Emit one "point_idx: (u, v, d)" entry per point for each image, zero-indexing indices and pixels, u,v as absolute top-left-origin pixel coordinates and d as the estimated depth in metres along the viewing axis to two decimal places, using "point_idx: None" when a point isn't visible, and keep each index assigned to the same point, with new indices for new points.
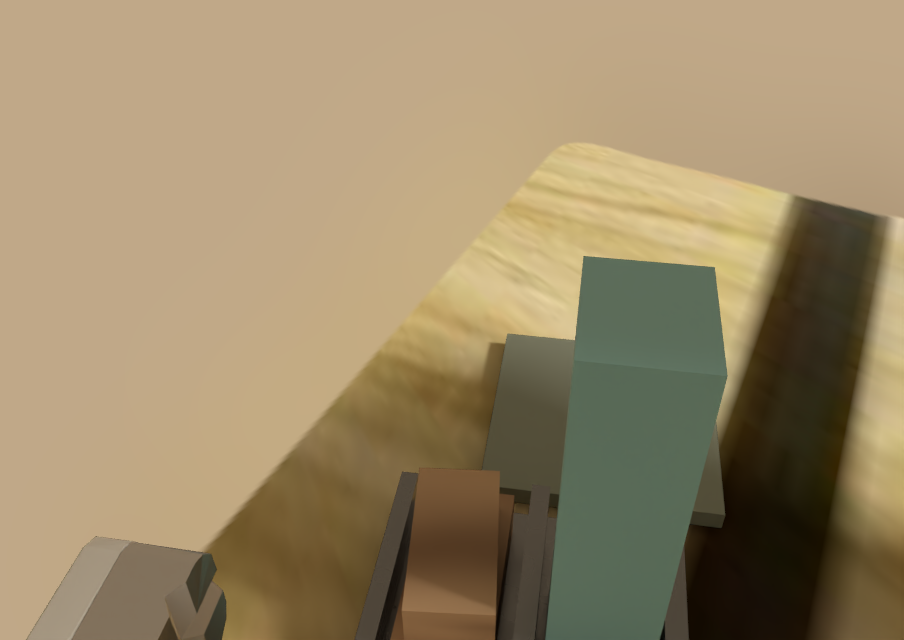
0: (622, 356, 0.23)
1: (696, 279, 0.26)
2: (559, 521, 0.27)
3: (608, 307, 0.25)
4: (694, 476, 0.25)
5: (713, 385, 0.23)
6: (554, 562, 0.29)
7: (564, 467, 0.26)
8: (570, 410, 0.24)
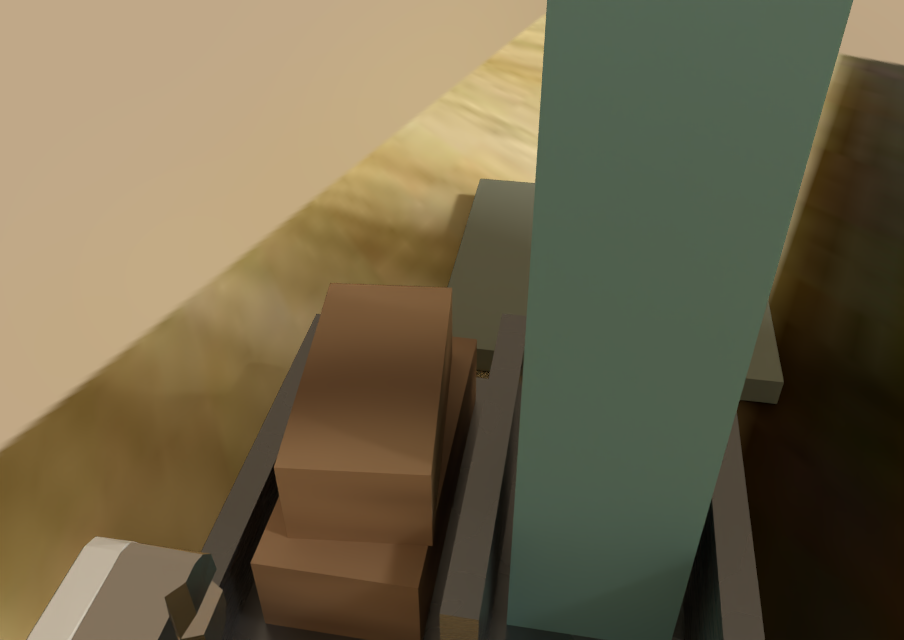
0: None
1: None
2: (533, 257, 0.15)
3: None
4: (805, 117, 0.12)
5: None
6: (526, 354, 0.16)
7: (542, 116, 0.13)
8: None
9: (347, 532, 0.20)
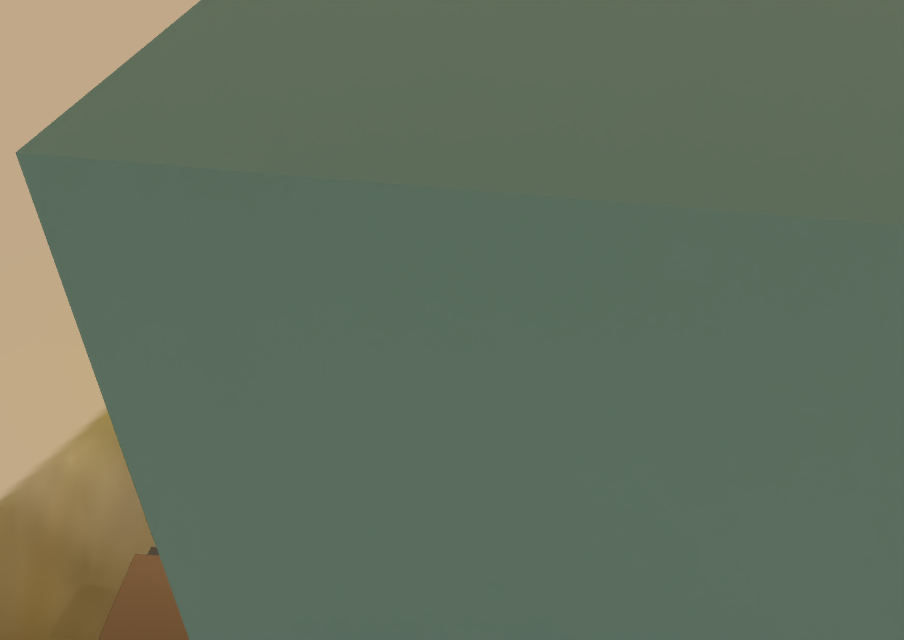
0: (371, 135, 0.03)
1: None
2: None
3: None
4: None
5: None
6: None
7: None
8: (141, 487, 0.04)
9: None
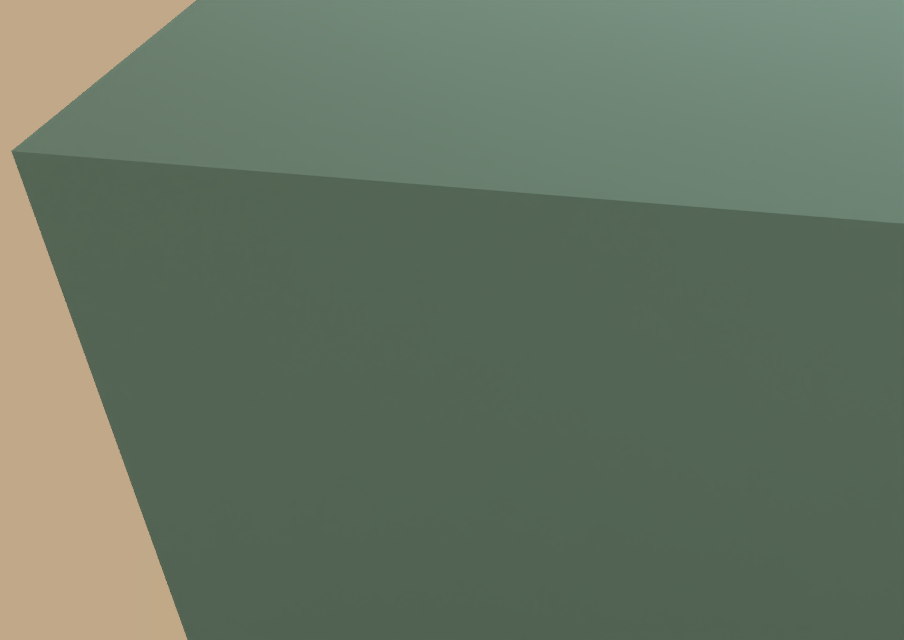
0: (368, 132, 0.03)
1: None
2: None
3: None
4: None
5: None
6: None
7: None
8: (139, 487, 0.04)
9: None
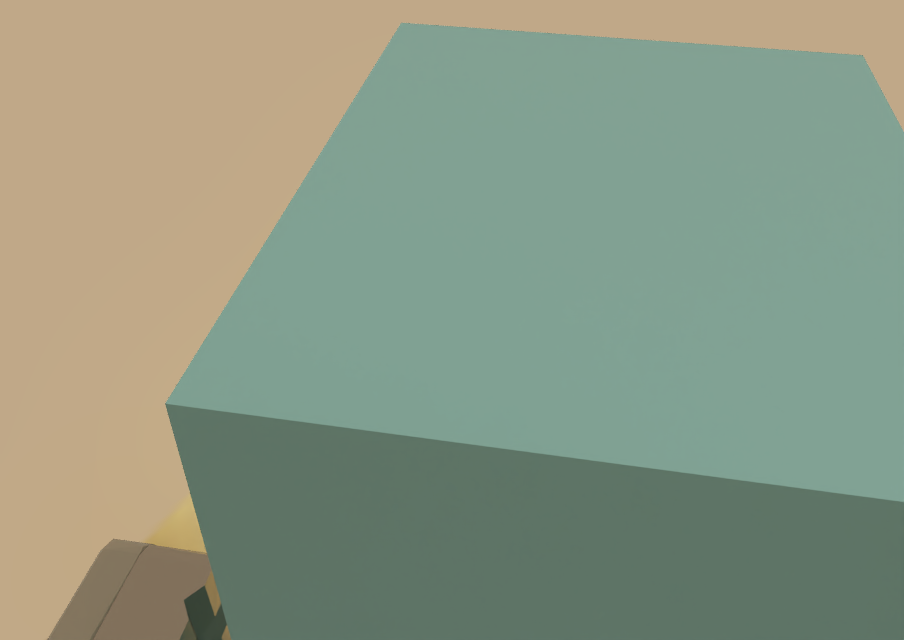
0: (454, 385, 0.04)
1: (806, 84, 0.07)
2: None
3: (443, 161, 0.06)
4: None
5: None
6: None
7: None
8: (235, 632, 0.05)
9: None
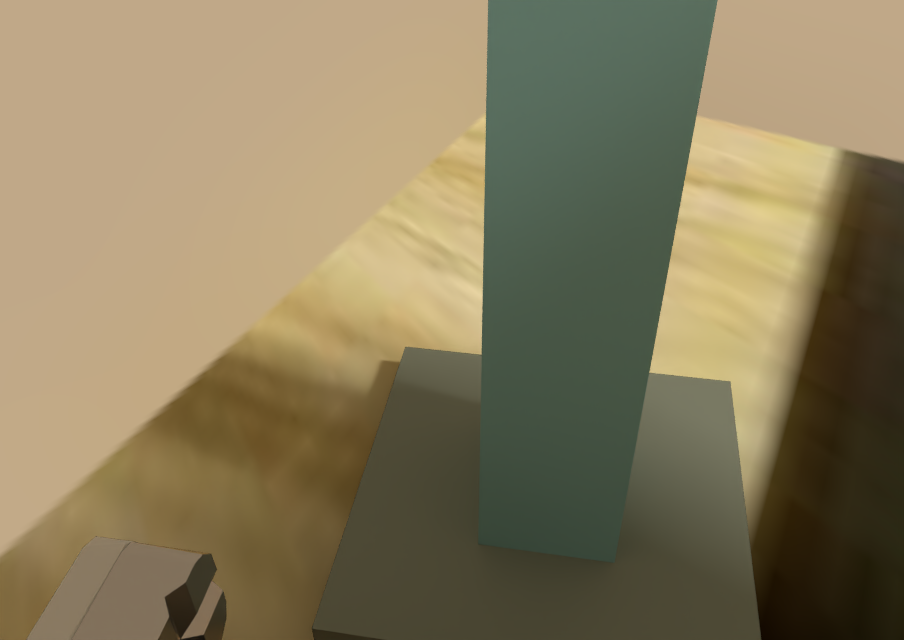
0: None
1: None
2: (486, 225, 0.18)
3: None
4: (685, 113, 0.16)
5: None
6: (484, 305, 0.20)
7: (488, 114, 0.17)
8: None
9: None
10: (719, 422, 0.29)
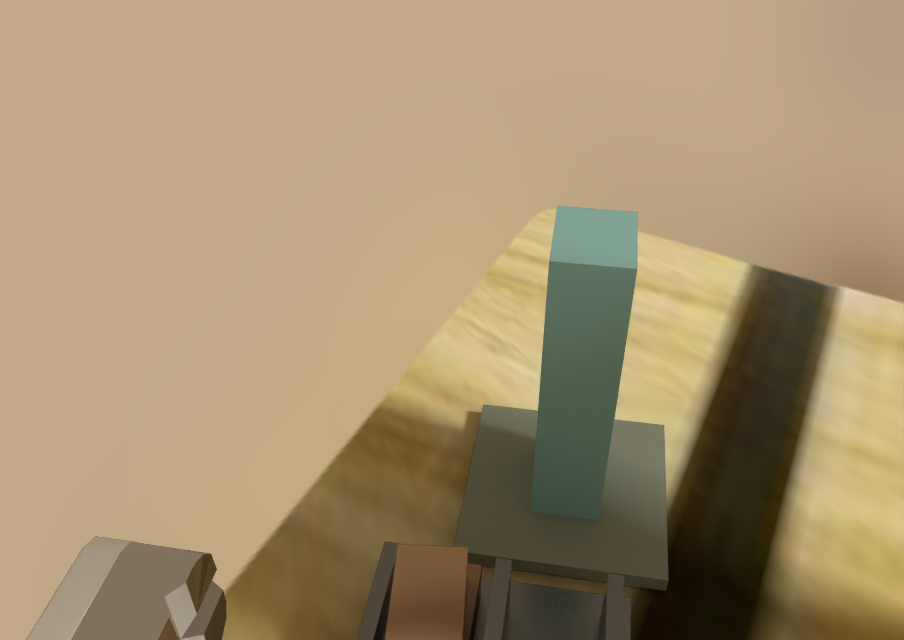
0: (577, 259, 0.40)
1: (626, 218, 0.42)
2: (542, 371, 0.44)
3: (570, 233, 0.41)
4: (622, 336, 0.41)
5: (629, 275, 0.39)
6: (539, 402, 0.45)
7: (544, 332, 0.42)
8: (547, 293, 0.41)
9: None
10: (656, 448, 0.54)
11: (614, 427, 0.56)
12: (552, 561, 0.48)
